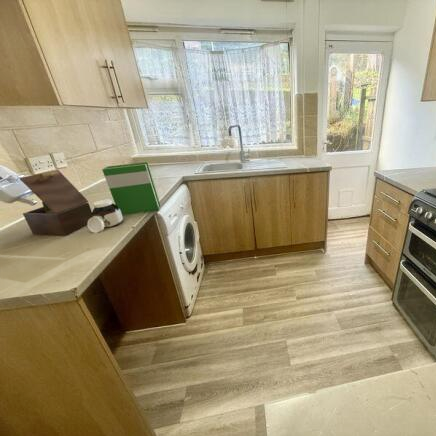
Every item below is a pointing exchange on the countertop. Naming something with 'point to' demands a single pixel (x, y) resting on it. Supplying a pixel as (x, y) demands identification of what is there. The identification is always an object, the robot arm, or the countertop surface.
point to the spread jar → (104, 216)
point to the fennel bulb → (47, 209)
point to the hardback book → (132, 188)
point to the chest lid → (54, 190)
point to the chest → (58, 220)
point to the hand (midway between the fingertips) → (43, 200)
